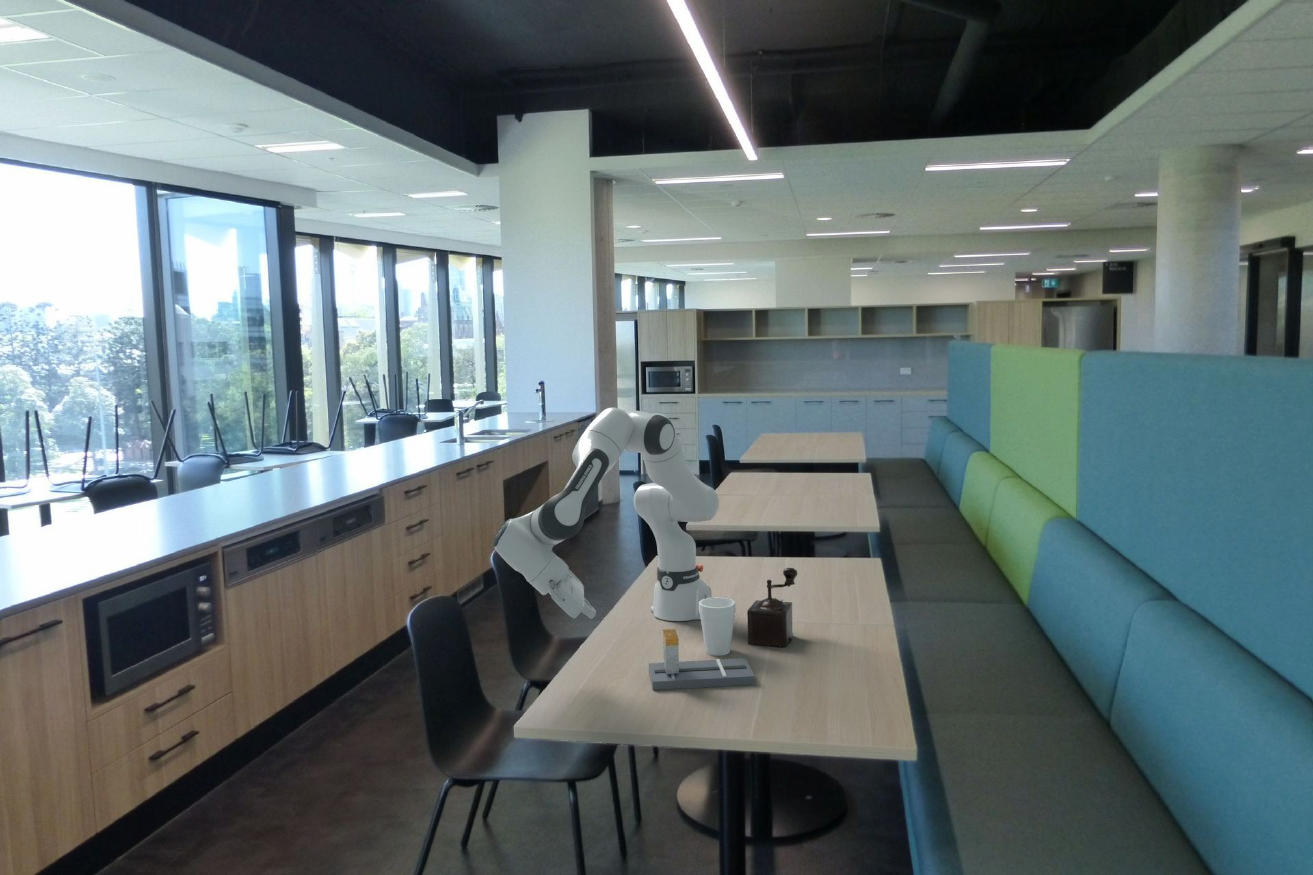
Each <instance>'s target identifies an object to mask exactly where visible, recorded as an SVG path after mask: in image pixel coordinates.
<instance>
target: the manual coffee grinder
mask: <svg viewBox="0 0 1313 875" xmlns="http://www.w3.org/2000/svg"><path fill="white" fill-rule="evenodd" d="M782 575H783V576H784V578H785V581H784V583H782V584H772V580H771V579H767V580H766V588H767V598H764V599H761V600H759V599H757V600H755V601H754V602H753V603H752V605H751V606H750V607H749V608H748V609H747V612H746V615H747V644H748V645H751V646H762V647H772V648H787V646H788V645H789V644H790V643H791V641H792V640H793V639H794V638H793V635H794V634H793V633H794V632H793V602H790V601H784V599H781V600H780V599H778V598H776V597H772V589H774V588H776V589H777V588H784V587H789V588H790V587H791V586H792V585H795V584H796V583H795V579H796V577H797V576H798V571H797V570H796V569H795V568H793V567H786V568H784V569H783V571H782Z"/></svg>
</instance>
